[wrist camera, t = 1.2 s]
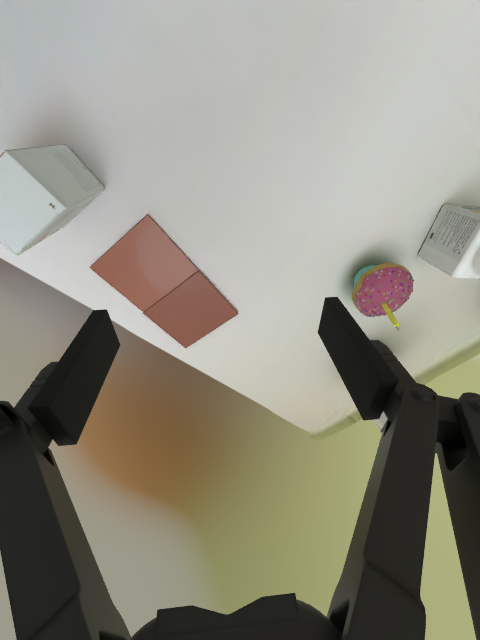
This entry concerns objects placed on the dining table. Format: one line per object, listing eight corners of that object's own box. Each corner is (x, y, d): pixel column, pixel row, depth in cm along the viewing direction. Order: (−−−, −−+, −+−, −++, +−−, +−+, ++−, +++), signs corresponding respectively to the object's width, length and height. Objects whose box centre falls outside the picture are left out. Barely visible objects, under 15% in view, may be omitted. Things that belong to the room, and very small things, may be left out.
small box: (66, 143, 29) (5, 146, 21) (107, 188, 32) (68, 208, 23) (23, 187, 31) (-49, 207, 23) (65, 226, 34) (15, 257, 26)
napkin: (90, 266, 38) (88, 268, 37) (147, 214, 34) (147, 215, 34) (185, 346, 48) (185, 348, 47) (238, 311, 44) (238, 313, 44)
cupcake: (362, 307, 46) (402, 354, 36) (330, 284, 42) (365, 328, 33) (404, 270, 42) (461, 311, 32) (373, 241, 39) (426, 277, 29)
